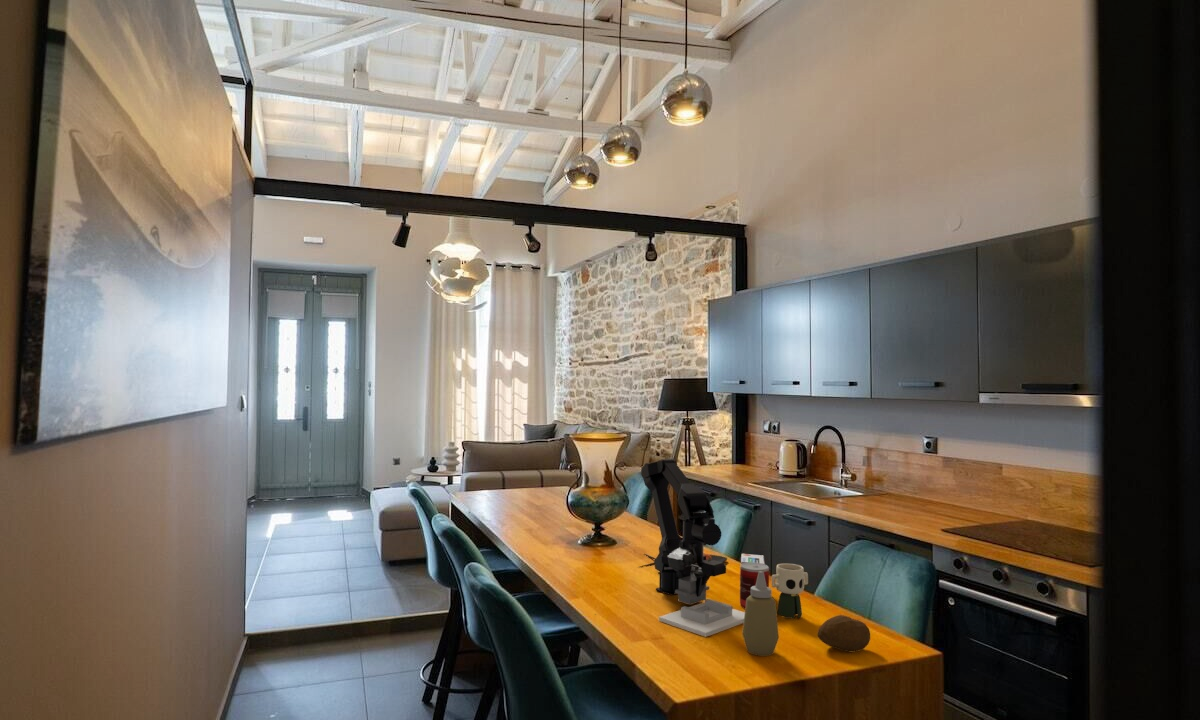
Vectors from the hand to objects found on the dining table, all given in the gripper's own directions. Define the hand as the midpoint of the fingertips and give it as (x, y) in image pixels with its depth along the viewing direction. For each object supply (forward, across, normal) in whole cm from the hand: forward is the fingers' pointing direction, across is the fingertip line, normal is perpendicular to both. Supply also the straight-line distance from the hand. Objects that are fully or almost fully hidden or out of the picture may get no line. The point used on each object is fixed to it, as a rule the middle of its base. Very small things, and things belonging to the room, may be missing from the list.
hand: (692, 594), depth 195 cm
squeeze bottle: (+3, +32, -15) cm, 35 cm away
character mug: (+3, +23, +12) cm, 26 cm away
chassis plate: (+3, +10, -7) cm, 13 cm away
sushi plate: (+4, -33, +30) cm, 44 cm away
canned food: (+3, +12, +12) cm, 17 cm away
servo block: (+2, 0, 0) cm, 2 cm away
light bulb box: (+3, +6, +20) cm, 21 cm away
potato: (+3, +44, +1) cm, 44 cm away
